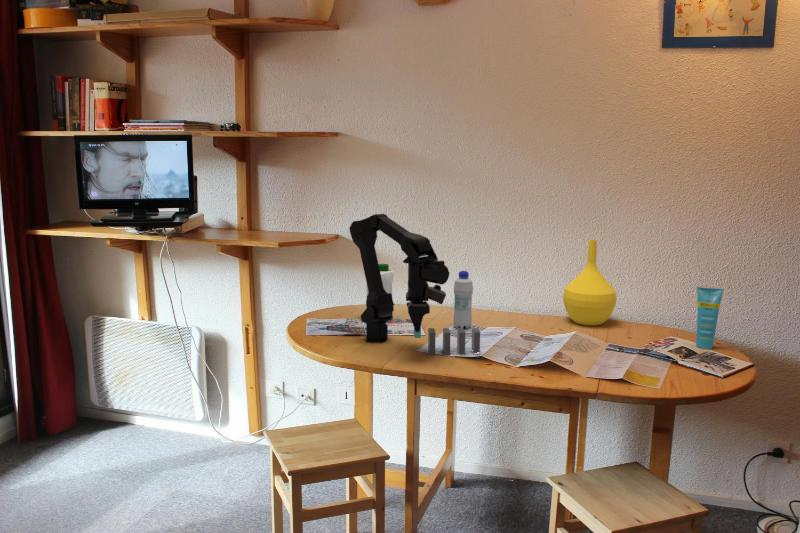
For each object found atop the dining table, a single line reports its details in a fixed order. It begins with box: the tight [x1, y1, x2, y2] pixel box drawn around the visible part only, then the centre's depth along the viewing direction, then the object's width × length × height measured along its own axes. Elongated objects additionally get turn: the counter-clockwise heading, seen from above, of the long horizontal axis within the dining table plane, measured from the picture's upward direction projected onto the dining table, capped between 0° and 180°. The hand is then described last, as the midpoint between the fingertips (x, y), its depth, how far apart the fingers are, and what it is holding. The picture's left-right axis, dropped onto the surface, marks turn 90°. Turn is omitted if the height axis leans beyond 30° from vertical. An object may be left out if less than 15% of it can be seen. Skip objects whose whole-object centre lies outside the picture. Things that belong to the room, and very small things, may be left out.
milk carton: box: [363, 263, 395, 322], centre depth 242 cm, size 9×9×20 cm
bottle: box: [453, 270, 474, 330], centre depth 233 cm, size 7×7×20 cm
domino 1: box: [413, 326, 422, 339], centre depth 205 cm, size 2×5×7 cm, turn 2°
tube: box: [695, 286, 724, 350], centre depth 212 cm, size 7×5×19 cm, turn 72°
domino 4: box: [456, 327, 466, 355], centre depth 207 cm, size 2×5×7 cm, turn 2°
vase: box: [562, 238, 617, 327], centre depth 240 cm, size 18×18×30 cm
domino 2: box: [427, 327, 436, 356], centre depth 206 cm, size 2×5×7 cm, turn 2°
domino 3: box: [442, 327, 451, 356], centre depth 207 cm, size 2×5×7 cm, turn 2°
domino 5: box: [471, 327, 481, 353], centre depth 207 cm, size 2×5×7 cm, turn 2°
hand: (417, 329), depth 206 cm, fingers closed on domino 1, 5 cm apart
